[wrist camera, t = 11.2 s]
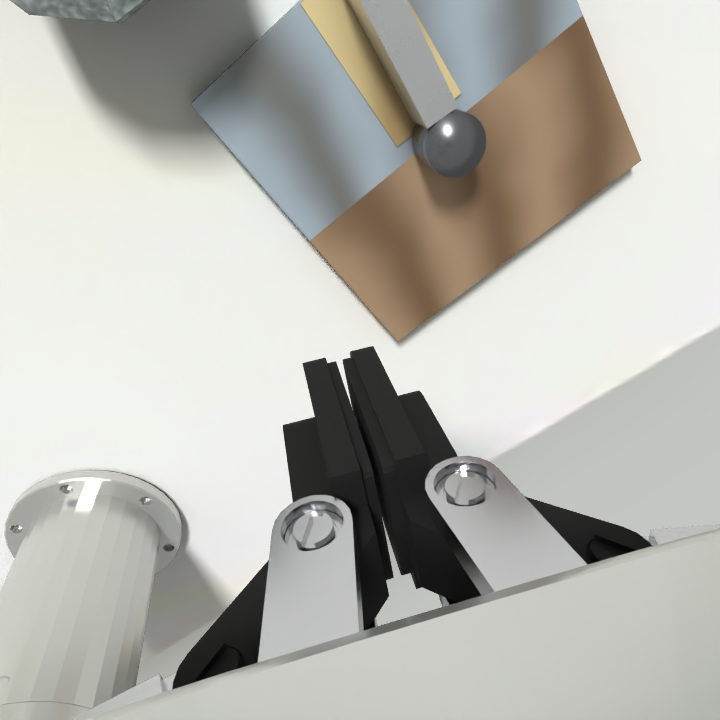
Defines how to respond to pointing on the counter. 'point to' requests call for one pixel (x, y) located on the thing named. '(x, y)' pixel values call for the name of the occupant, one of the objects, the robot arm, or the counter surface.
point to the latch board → (395, 150)
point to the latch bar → (422, 88)
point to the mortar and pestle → (83, 8)
